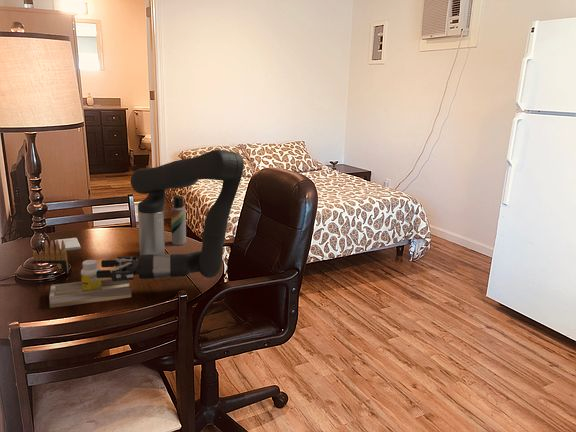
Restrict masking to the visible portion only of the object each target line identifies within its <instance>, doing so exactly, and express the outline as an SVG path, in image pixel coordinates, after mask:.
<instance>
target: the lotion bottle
mask: <svg viewBox="0 0 576 432" xmlns="http://www.w3.org/2000/svg"><path fill="white" fill-rule="evenodd" d="M172 200H173V201H172V202H173V206H172V207H171V208H170V213H171V214H170V216H171V217H170V219H171V220H170V221H171V242H172V245H175V246H183V245H185V244H186V242H187V224H186V223H187V222H186V221H187V219H186V217H187V215H186V214H187V213H186V211H187V210H186V206H184V198H183V195H173V198H172Z"/></svg>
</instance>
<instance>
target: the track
mask: <svg viewBox="0 0 576 432" xmlns="http://www.w3.org/2000/svg"><path fill="white" fill-rule="evenodd" d="M118 278H119V277H118ZM101 286H102V290H95V291H87V292H83V291H82V281H74V282H73V281H72V282H65V283H56V284H51V286H50V290H49V297H48V299H49V308H50V309H54V308H60V307H67V306H75V305H82V304H91V303H97V302H98V303H99V302H106V301H115V300H121V299H129V298H132V286H130V280H123V281H112V279H111V278H101Z"/></svg>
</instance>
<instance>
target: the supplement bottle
mask: <svg viewBox="0 0 576 432" xmlns="http://www.w3.org/2000/svg"><path fill="white" fill-rule="evenodd" d="M81 265H82V269H81V270H80V279H81V281H80V282H82V291H83V292H87V291H95V290H102V286H101V279H102V278H97V275H96V272H97V271H98V270H101V268H100V267H98V261H97V260H96V259H86V260H83V261H82V263H81Z"/></svg>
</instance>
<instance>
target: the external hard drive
mask: <svg viewBox="0 0 576 432" xmlns="http://www.w3.org/2000/svg"><path fill="white" fill-rule="evenodd" d="M56 240H58V242H59V245H60V251H61V243H62V240H63V241H64V243H65V248H66V252H68V251H74V250H75V251H76V250H81V248H82V246H81V245H80V243H79V240H78V238H77V237H71V238H62V239H55V240H54V245H56Z"/></svg>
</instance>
